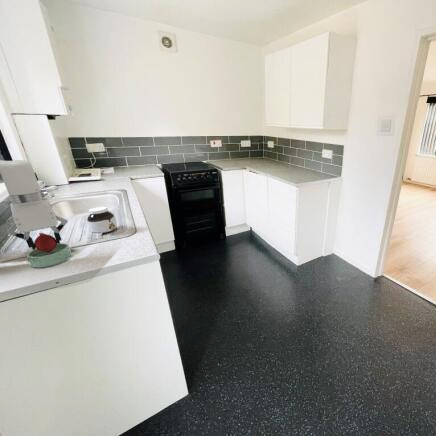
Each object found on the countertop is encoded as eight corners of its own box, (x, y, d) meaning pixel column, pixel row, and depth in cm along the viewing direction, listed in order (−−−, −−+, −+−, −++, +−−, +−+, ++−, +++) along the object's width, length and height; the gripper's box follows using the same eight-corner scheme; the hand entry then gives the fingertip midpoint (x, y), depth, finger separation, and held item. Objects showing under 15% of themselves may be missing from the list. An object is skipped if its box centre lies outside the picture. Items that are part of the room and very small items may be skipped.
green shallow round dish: (23, 270, 85) (17, 259, 83) (44, 255, 95) (40, 245, 94) (61, 266, 87) (57, 255, 86) (78, 251, 98) (74, 241, 96)
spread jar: (100, 237, 111) (92, 212, 107) (82, 234, 114) (75, 210, 110) (124, 227, 122) (118, 205, 118) (107, 225, 125) (101, 203, 121)
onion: (58, 247, 94) (51, 228, 91) (61, 251, 90) (54, 231, 88) (37, 253, 90) (29, 233, 87) (39, 257, 86) (31, 237, 83)
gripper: (60, 191, 91) (75, 235, 97) (-10, 201, 80) (12, 250, 86) (62, 194, 86) (78, 241, 92) (-13, 205, 75) (11, 257, 81)
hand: (46, 245), depth 89 cm, fingers closed on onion, 5 cm apart
